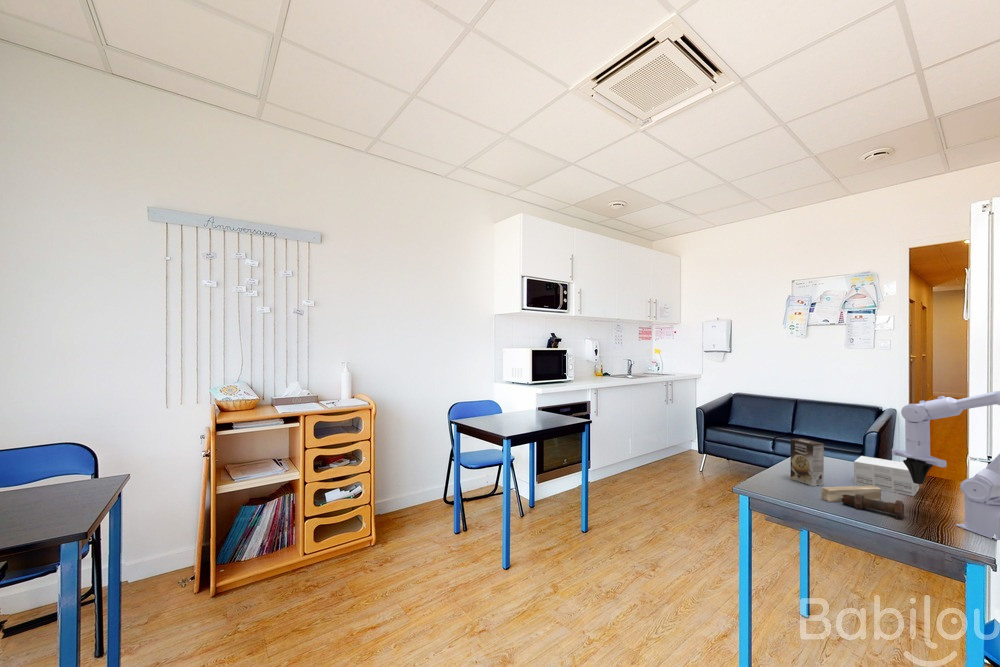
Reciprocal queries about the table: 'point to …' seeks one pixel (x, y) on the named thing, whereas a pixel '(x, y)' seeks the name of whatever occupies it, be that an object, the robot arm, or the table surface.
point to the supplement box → (884, 475)
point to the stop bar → (850, 492)
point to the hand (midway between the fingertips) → (918, 483)
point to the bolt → (875, 505)
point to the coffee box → (807, 461)
